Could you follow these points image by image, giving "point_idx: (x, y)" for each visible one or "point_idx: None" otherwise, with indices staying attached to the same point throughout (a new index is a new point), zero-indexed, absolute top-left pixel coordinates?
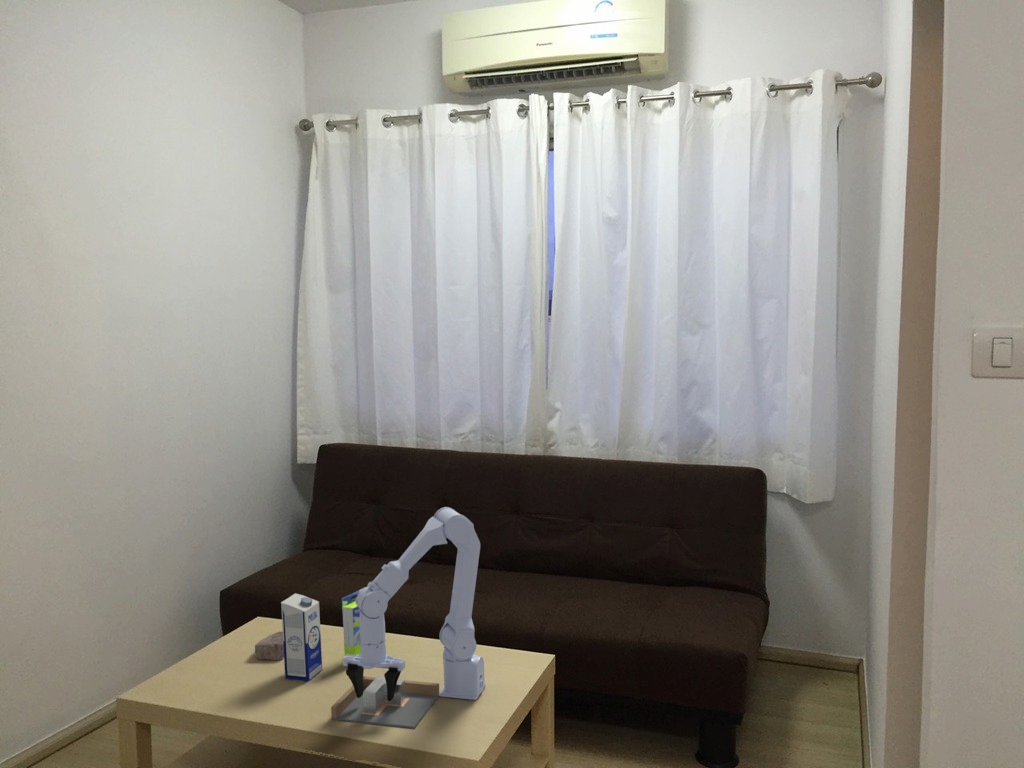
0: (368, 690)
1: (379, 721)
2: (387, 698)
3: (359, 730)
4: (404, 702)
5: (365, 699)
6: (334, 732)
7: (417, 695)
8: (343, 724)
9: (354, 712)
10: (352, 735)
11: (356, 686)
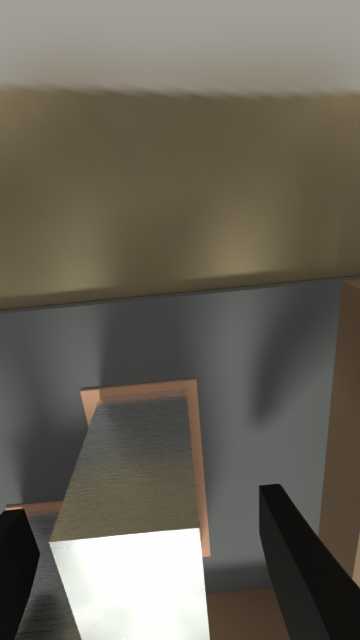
0: (157, 562)
1: (21, 329)
2: (9, 524)
3: (100, 194)
4: None
5: (171, 463)
6: (273, 100)
7: None
8: (260, 239)
9: (252, 381)
10: (106, 99)
11: (316, 585)
